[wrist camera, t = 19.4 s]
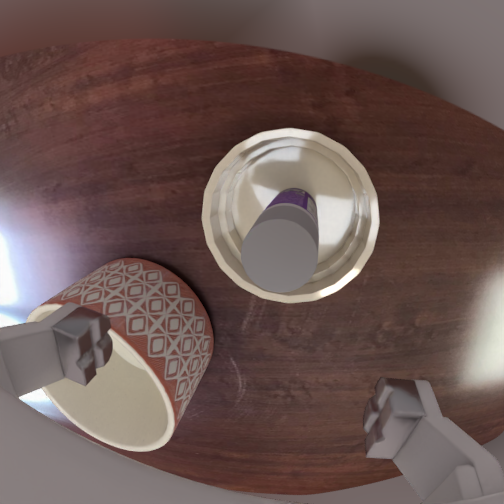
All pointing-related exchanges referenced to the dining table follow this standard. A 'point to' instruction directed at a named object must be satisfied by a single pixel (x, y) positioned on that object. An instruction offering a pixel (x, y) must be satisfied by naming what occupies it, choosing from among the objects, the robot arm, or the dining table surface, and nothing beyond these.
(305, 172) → the bowl
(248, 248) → the container
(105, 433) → the planter
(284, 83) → the dining table surface
